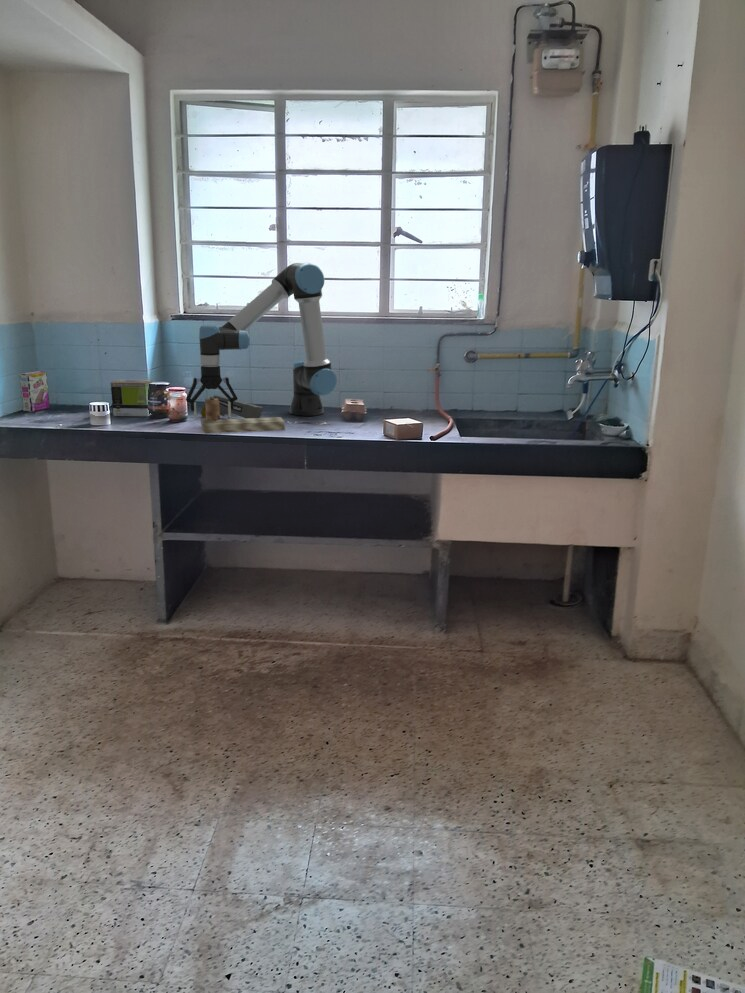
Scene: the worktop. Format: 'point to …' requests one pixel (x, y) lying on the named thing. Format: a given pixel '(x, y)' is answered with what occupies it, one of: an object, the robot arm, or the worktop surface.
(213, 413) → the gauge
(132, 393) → the tea box
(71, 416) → the worktop surface
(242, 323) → the robot arm
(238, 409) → the gun
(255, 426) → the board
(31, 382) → the candy bar box
